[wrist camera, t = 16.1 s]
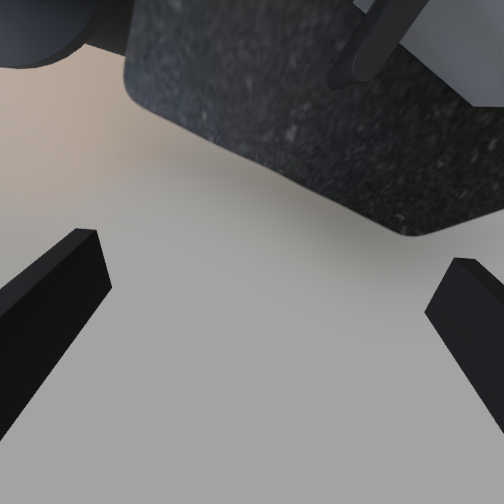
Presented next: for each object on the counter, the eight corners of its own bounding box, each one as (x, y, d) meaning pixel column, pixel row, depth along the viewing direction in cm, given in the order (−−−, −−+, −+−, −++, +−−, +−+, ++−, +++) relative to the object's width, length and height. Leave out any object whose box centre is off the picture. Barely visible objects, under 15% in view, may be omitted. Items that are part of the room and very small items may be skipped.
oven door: (421, 163, 30) (525, 204, 17) (307, 76, 27) (335, 53, 15) (482, 96, 26) (658, 90, 14) (360, -11, 24) (452, -133, 11)
